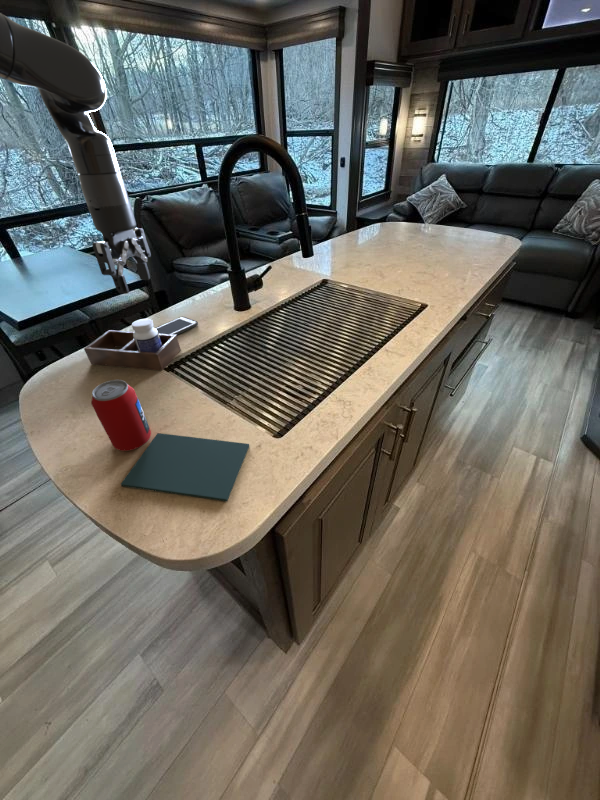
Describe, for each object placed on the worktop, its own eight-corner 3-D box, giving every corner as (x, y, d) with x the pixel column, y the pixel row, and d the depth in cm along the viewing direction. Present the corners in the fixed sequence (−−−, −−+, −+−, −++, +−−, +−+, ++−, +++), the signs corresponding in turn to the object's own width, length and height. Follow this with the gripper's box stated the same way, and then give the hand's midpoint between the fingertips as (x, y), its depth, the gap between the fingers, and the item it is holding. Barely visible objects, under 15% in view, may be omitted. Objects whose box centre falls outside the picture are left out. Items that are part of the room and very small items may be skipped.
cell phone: (199, 324, 100) (199, 321, 99) (158, 344, 91) (157, 341, 90) (183, 318, 103) (182, 315, 103) (141, 337, 94) (140, 333, 94)
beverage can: (160, 432, 63) (140, 381, 56) (135, 457, 58) (110, 405, 51) (131, 425, 65) (109, 374, 58) (105, 448, 60) (77, 396, 53)
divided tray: (91, 364, 83) (83, 348, 81) (115, 344, 91) (109, 329, 88) (162, 370, 81) (157, 354, 78) (180, 350, 88) (176, 334, 86)
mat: (121, 486, 54) (120, 484, 53) (158, 435, 63) (157, 432, 63) (227, 501, 51) (226, 499, 51) (249, 446, 60) (249, 443, 60)
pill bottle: (170, 356, 86) (159, 320, 80) (151, 366, 82) (139, 329, 76) (155, 350, 88) (144, 315, 82) (137, 360, 85) (123, 324, 78)
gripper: (113, 196, 69) (137, 275, 79) (64, 207, 58) (99, 297, 68) (146, 196, 68) (166, 276, 78) (102, 208, 57) (132, 299, 67)
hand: (135, 286), depth 73 cm, fingers open, 8 cm apart
